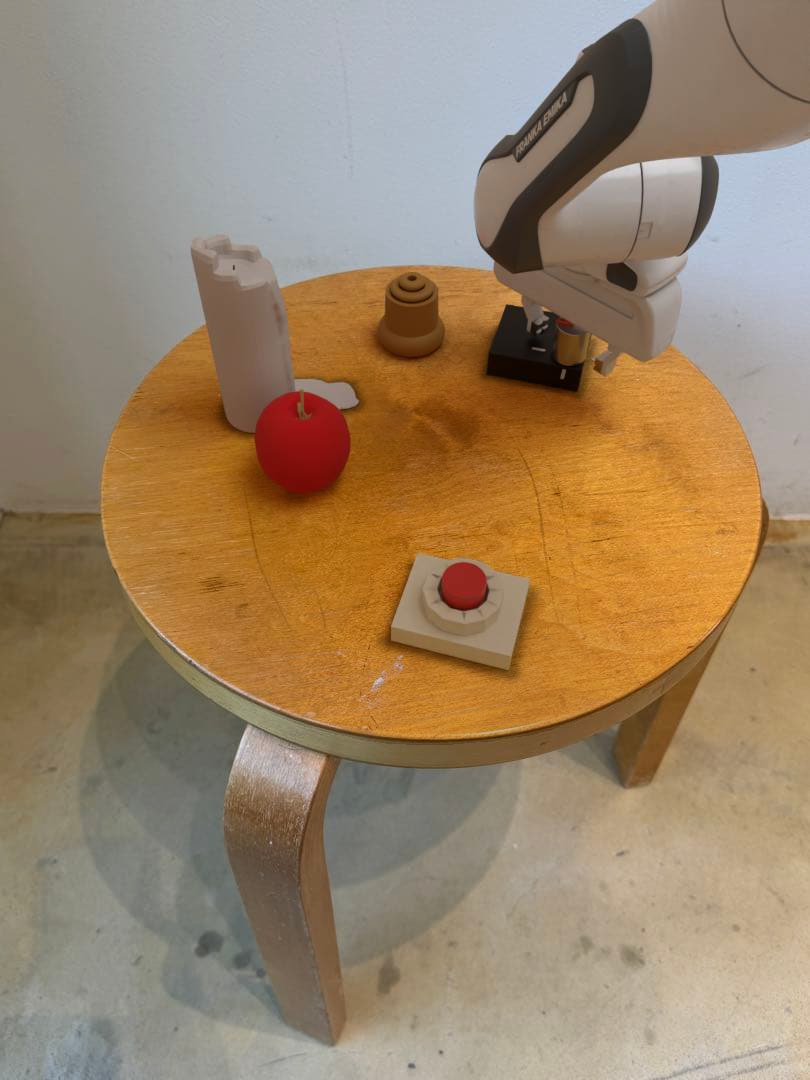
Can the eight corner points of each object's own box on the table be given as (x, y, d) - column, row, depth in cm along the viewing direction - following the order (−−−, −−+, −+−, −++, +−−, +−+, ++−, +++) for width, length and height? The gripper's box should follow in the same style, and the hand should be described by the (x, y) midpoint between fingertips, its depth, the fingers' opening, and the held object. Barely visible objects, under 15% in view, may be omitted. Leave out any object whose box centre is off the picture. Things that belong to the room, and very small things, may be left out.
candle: (364, 415, 88) (355, 241, 73) (230, 439, 86) (192, 264, 70) (349, 371, 93) (338, 198, 77) (221, 393, 90) (184, 219, 75)
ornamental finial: (454, 330, 97) (427, 368, 93) (395, 312, 99) (366, 349, 95) (458, 268, 91) (429, 306, 87) (395, 251, 93) (364, 287, 89)
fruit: (371, 480, 82) (368, 402, 75) (293, 524, 79) (281, 446, 71) (318, 428, 87) (310, 349, 79) (241, 467, 83) (225, 389, 76)
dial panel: (608, 344, 96) (614, 321, 93) (594, 408, 89) (600, 384, 87) (503, 325, 98) (506, 302, 95) (482, 386, 91) (484, 363, 89)
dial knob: (587, 348, 90) (595, 314, 87) (582, 369, 88) (589, 335, 85) (554, 342, 91) (560, 308, 88) (548, 362, 89) (554, 328, 86)
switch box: (527, 593, 74) (533, 565, 71) (508, 670, 69) (513, 644, 66) (417, 567, 76) (417, 539, 73) (390, 640, 71) (390, 613, 68)
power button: (489, 580, 70) (491, 567, 69) (479, 614, 68) (481, 602, 67) (447, 570, 71) (448, 557, 70) (436, 604, 69) (436, 591, 67)
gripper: (486, 200, 82) (476, 320, 93) (663, 291, 73) (629, 412, 83) (528, 178, 85) (514, 296, 95) (704, 261, 75) (666, 382, 86)
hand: (569, 351), depth 89 cm, fingers open, 7 cm apart
